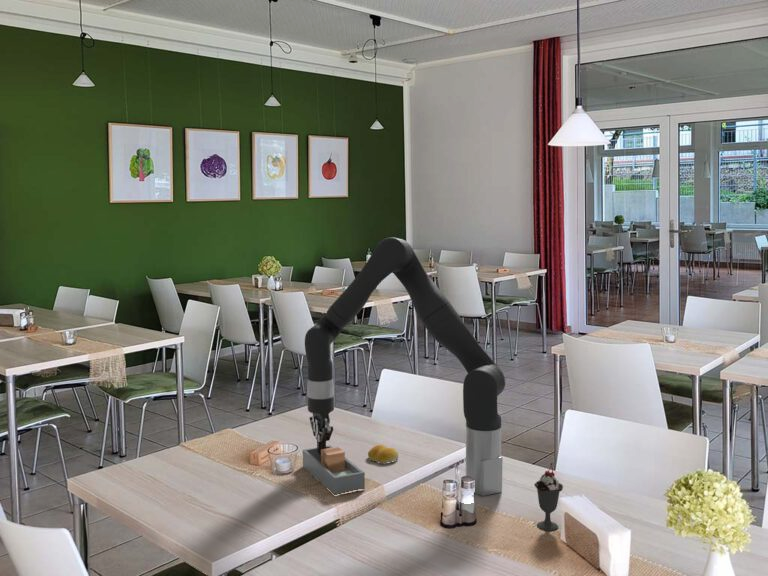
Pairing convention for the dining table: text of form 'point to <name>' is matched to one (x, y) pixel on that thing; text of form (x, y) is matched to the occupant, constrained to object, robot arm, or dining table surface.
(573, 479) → the dining table surface
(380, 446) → the bread roll
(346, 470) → the trap box
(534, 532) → the dining table surface
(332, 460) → the block
